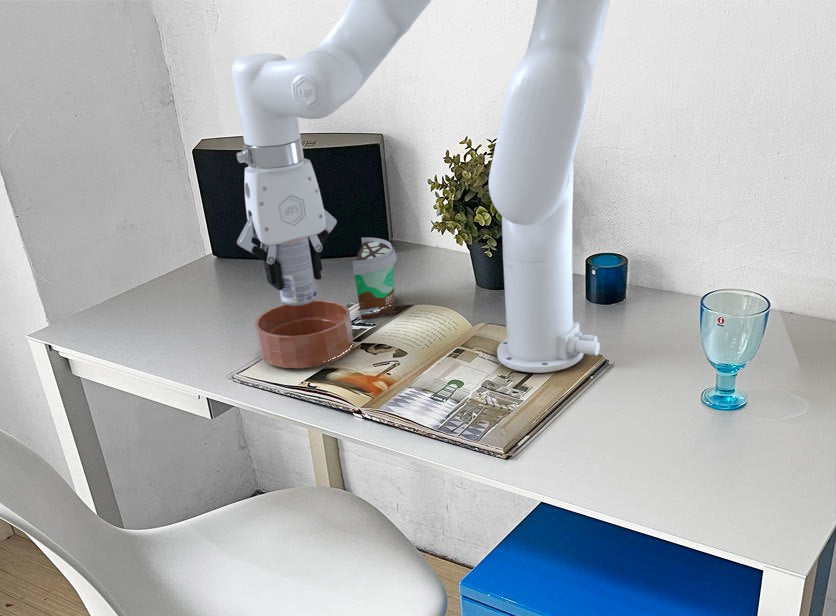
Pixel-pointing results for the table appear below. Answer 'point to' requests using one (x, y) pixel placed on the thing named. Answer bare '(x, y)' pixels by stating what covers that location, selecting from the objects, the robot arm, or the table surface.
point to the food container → (375, 277)
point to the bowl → (304, 334)
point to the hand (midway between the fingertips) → (296, 281)
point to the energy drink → (296, 272)
